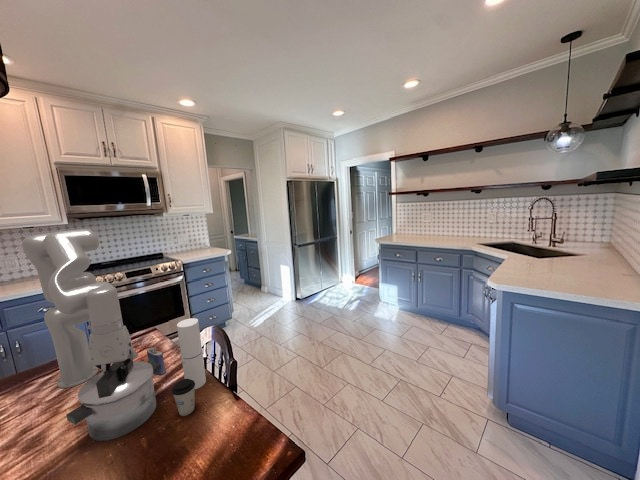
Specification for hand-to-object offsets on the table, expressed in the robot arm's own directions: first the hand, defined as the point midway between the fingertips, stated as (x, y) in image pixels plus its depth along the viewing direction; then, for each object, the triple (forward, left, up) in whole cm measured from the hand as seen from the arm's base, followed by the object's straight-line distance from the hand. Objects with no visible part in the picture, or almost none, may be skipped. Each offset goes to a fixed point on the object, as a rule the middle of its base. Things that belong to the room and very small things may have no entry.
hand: (117, 378), depth 85 cm
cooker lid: (0, 0, -2) cm, 2 cm away
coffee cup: (+18, +9, -14) cm, 24 cm away
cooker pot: (0, 0, -14) cm, 14 cm away
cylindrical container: (+10, +20, -14) cm, 26 cm away
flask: (-12, +20, -14) cm, 27 cm away
